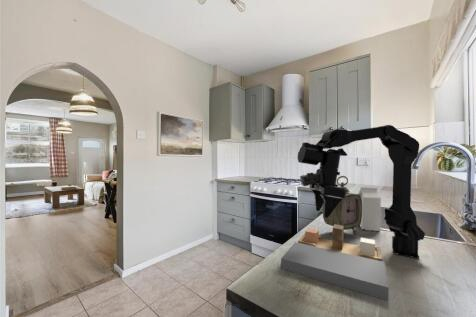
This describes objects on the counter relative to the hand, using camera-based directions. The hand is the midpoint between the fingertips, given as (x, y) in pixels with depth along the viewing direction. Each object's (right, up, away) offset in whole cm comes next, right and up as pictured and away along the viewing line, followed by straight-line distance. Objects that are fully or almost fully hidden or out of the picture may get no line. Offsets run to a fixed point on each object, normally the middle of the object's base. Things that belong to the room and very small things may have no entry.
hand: (321, 213), depth 70 cm
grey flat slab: (0, -14, -8) cm, 17 cm away
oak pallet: (+7, -15, +4) cm, 17 cm away
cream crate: (+15, -12, -1) cm, 19 cm away
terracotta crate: (0, -12, +8) cm, 15 cm away
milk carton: (+33, -14, +29) cm, 46 cm away
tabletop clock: (+17, -14, +21) cm, 30 cm away
